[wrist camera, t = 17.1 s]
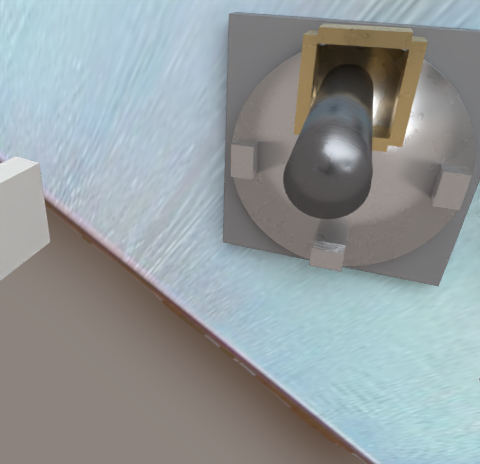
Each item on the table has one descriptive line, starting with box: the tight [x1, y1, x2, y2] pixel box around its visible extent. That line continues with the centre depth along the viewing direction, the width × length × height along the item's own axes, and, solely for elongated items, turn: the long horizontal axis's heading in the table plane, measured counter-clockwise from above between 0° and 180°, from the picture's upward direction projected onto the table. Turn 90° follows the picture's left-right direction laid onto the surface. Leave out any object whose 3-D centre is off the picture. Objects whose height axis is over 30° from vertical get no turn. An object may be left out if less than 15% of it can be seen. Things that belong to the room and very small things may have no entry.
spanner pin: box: [283, 64, 374, 219], centre depth 25 cm, size 4×4×16 cm
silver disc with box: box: [231, 23, 475, 271], centre depth 34 cm, size 21×20×4 cm
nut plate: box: [223, 12, 480, 286], centre depth 37 cm, size 22×22×2 cm
